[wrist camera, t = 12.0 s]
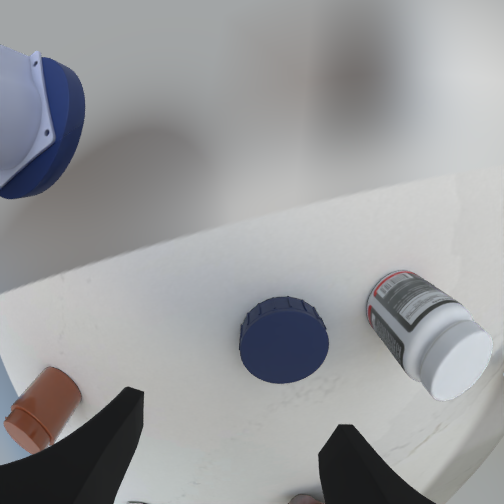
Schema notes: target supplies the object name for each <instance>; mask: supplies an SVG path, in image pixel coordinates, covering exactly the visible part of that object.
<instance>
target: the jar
mask: <svg viewBox="0 0 504 504" xmlns="http://www.w3.org/2000/svg"><path fill="white" fill-rule="evenodd" d="M80 402H81V393H80V391H79V389H78V387H77V386H76V384H75V383H74V382H73V381H72V380H71V379H70V378H69V377H68V376H67V375H66V374H65V373H63V372H62V371H60V370H58V369H56V368H53V367H47V368H45V369H44V370H43V371H42V372H41V373H40V374H39V375H38V376H37V378H36V379H35V380H34V381H33V382H32V383H31V384H30V385H29V387H28V388H27V389H26V390H25V391H24V392H23V393H22V395H21V396H20V397H19V398H18V399H17V400H16V402H15V403H14V404H13V405H12V406H11V411H12V412H11V413H10V415H9V416H8V417H5V421H4V427H5V428H6V430H7V432H8V433H9V435H10V436H11V437H12V438H13V439H14V440H15V442H17V443H18V444H19V445H20V446H21V447H22V448H24V449H25V450H26V451H28V452H29V453H31V454H35V453H37V452H40V451H42V450H44V449H46V448H47V447H48V446H51V445H53V444H54V443H55V441H56V440H57V438H58V437H59V435H60V433H61V432H62V430H63V429H64V427H65V425H66V424H67V422H68V421H69V419H70V418H71V416H72V414H73V413H74V411H75V410H76V408H77V407H78V405H79V404H80Z"/></svg>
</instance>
